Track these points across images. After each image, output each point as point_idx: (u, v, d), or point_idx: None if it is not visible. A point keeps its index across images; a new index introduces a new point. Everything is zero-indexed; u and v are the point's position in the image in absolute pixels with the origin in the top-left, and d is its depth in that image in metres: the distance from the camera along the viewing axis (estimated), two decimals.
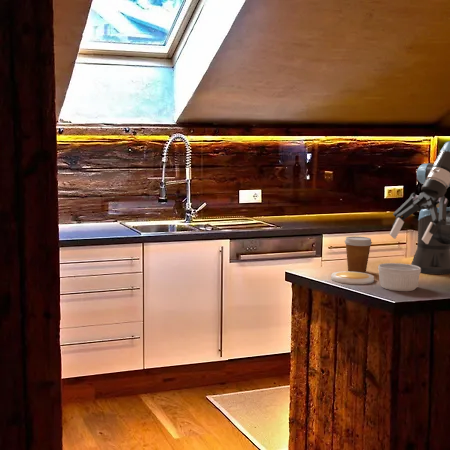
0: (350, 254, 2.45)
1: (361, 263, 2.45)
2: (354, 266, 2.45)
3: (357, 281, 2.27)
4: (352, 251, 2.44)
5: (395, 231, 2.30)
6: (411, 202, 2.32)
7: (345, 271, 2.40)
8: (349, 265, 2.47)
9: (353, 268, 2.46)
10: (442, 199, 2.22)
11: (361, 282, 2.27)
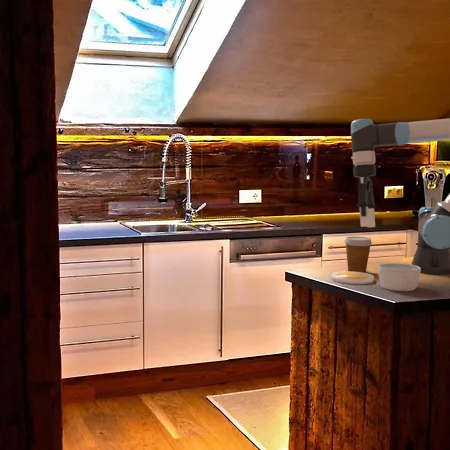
0: (350, 254, 2.45)
1: (361, 263, 2.45)
2: (354, 266, 2.45)
3: (357, 281, 2.27)
4: (352, 251, 2.44)
5: (370, 221, 2.44)
6: None
7: (345, 271, 2.40)
8: (349, 265, 2.47)
9: (353, 268, 2.46)
10: (358, 181, 2.33)
11: (361, 282, 2.27)
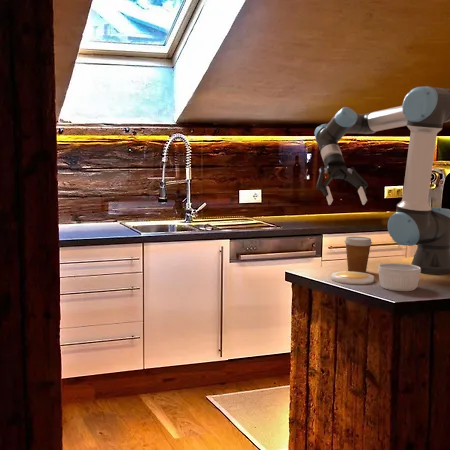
0: (350, 254, 2.45)
1: (361, 263, 2.45)
2: (354, 266, 2.45)
3: (357, 281, 2.27)
4: (352, 251, 2.44)
5: (362, 198, 2.58)
6: (353, 175, 2.64)
7: (345, 271, 2.40)
8: (349, 265, 2.47)
9: (353, 268, 2.46)
10: None
11: (361, 282, 2.27)
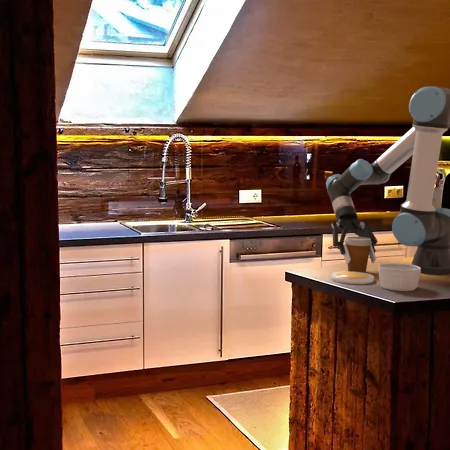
0: (350, 254, 2.45)
1: (361, 263, 2.45)
2: (354, 266, 2.45)
3: (357, 281, 2.27)
4: (352, 251, 2.44)
5: (371, 256, 2.47)
6: (364, 229, 2.55)
7: (345, 271, 2.40)
8: (349, 265, 2.47)
9: (353, 267, 2.45)
10: None
11: (361, 282, 2.27)
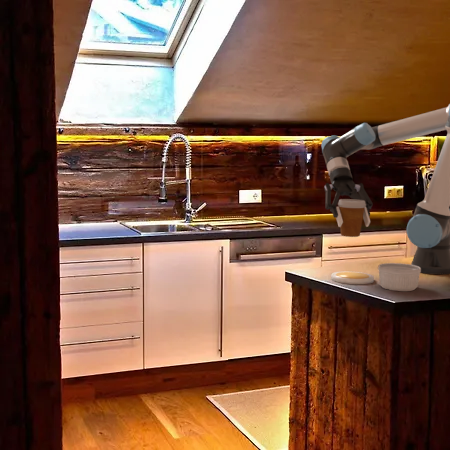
0: (343, 217, 2.34)
1: (354, 226, 2.33)
2: (347, 229, 2.34)
3: (357, 281, 2.27)
4: (345, 214, 2.33)
5: (365, 220, 2.35)
6: (360, 192, 2.43)
7: (345, 271, 2.40)
8: (341, 228, 2.36)
9: (346, 231, 2.34)
10: None
11: (361, 282, 2.27)
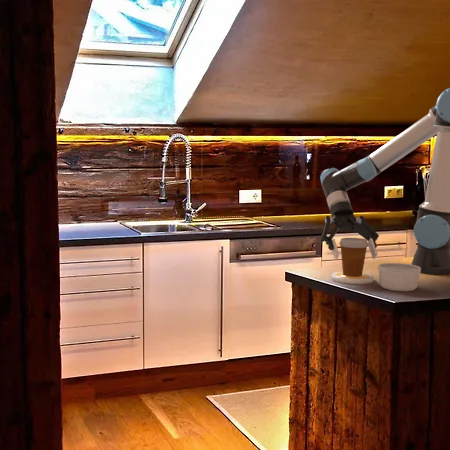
0: (345, 257, 2.30)
1: (357, 266, 2.30)
2: (350, 269, 2.30)
3: (357, 281, 2.27)
4: (348, 253, 2.29)
5: (372, 252, 2.33)
6: (362, 224, 2.40)
7: None
8: (344, 268, 2.32)
9: (349, 271, 2.31)
10: None
11: (361, 282, 2.27)
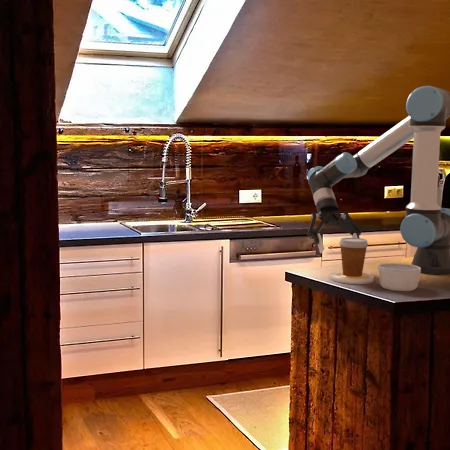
0: (345, 257, 2.30)
1: (357, 266, 2.30)
2: (349, 269, 2.30)
3: (357, 281, 2.27)
4: (347, 253, 2.29)
5: None
6: (346, 220, 2.52)
7: None
8: (344, 268, 2.32)
9: (348, 271, 2.31)
10: None
11: (361, 282, 2.27)
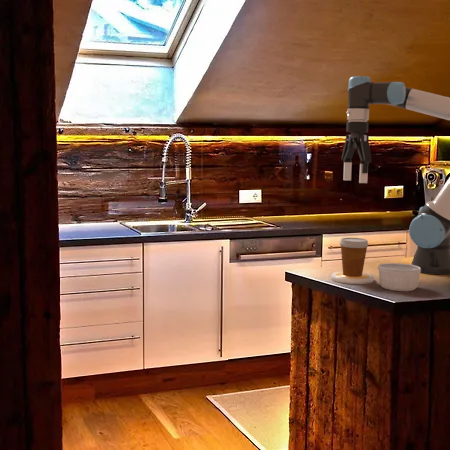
0: (345, 257, 2.30)
1: (357, 266, 2.30)
2: (350, 269, 2.30)
3: (357, 281, 2.27)
4: (348, 253, 2.29)
5: (347, 175, 2.54)
6: None
7: None
8: (344, 268, 2.32)
9: (348, 271, 2.31)
10: (361, 138, 2.40)
11: (361, 282, 2.27)
